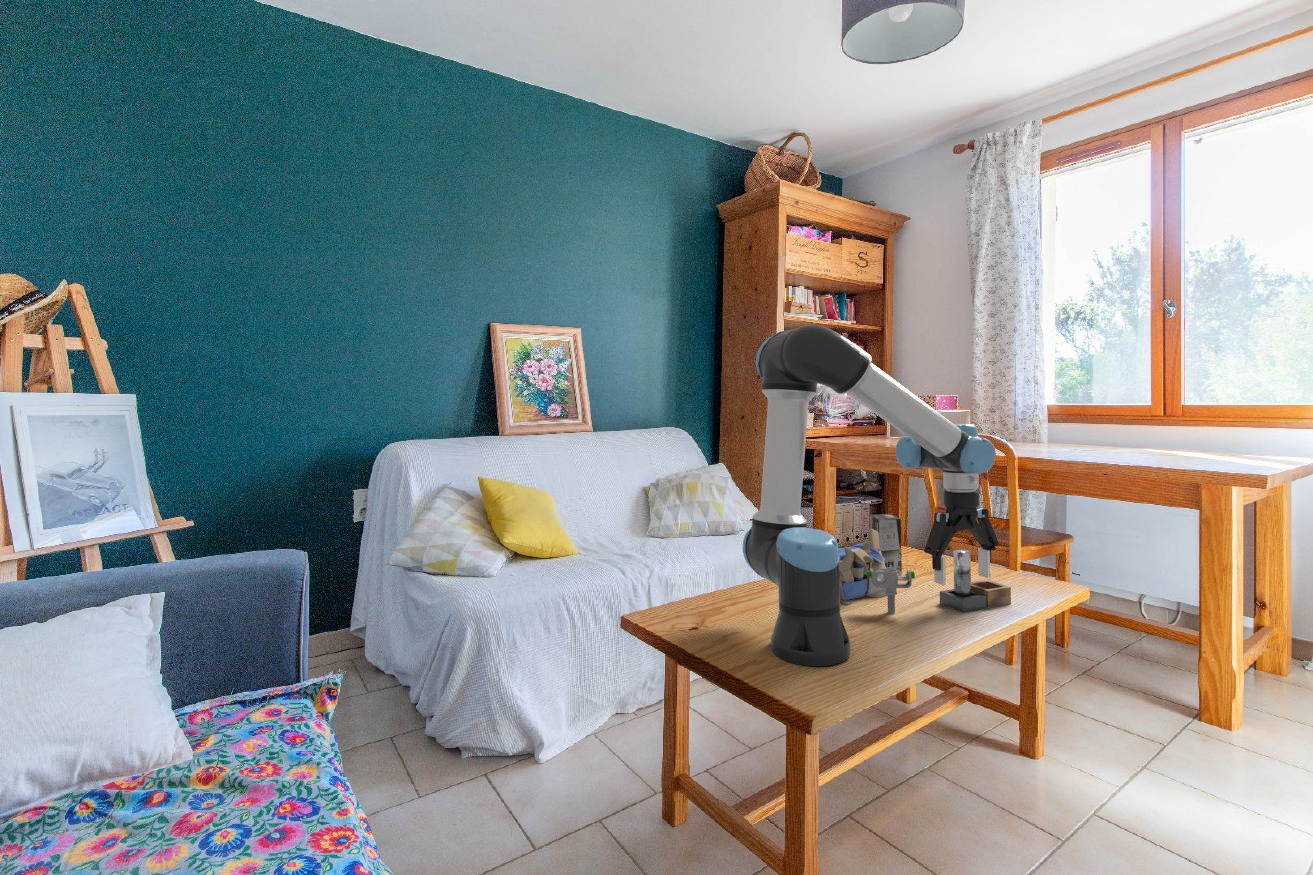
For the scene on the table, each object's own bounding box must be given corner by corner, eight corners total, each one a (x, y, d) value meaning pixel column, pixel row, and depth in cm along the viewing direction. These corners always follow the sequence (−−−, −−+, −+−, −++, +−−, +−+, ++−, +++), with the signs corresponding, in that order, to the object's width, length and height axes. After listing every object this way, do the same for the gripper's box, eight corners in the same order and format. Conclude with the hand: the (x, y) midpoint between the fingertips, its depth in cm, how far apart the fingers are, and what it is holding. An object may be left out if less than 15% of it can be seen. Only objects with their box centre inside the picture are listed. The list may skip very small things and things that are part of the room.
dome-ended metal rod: (962, 609, 147) (961, 554, 146) (950, 604, 150) (950, 550, 149) (974, 607, 148) (974, 552, 147) (962, 602, 151) (962, 549, 151)
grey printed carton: (903, 576, 176) (901, 518, 175) (879, 576, 176) (878, 519, 175) (892, 567, 185) (891, 513, 184) (870, 568, 185) (869, 513, 184)
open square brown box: (988, 607, 147) (987, 590, 147) (964, 599, 154) (964, 583, 153) (1010, 603, 149) (1010, 587, 149) (986, 595, 156) (986, 579, 156)
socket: (962, 612, 145) (962, 599, 144) (939, 603, 151) (939, 591, 151) (986, 608, 147) (986, 595, 147) (962, 599, 153) (962, 587, 153)
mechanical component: (916, 615, 144) (915, 572, 143) (869, 614, 146) (868, 571, 145) (913, 611, 146) (912, 568, 146) (867, 610, 148) (866, 568, 148)
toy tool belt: (833, 615, 146) (831, 546, 146) (784, 598, 160) (782, 536, 160) (905, 594, 160) (903, 531, 159) (854, 580, 174) (852, 522, 173)
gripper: (930, 496, 140) (932, 590, 141) (1014, 487, 148) (1016, 577, 149) (906, 492, 147) (908, 582, 148) (988, 484, 155) (989, 569, 156)
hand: (962, 580), depth 149 cm, fingers open, 12 cm apart
